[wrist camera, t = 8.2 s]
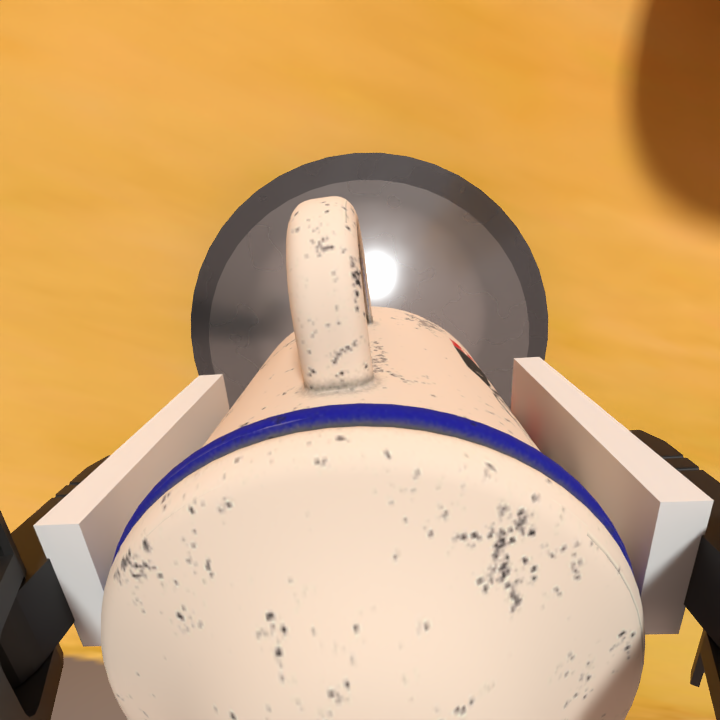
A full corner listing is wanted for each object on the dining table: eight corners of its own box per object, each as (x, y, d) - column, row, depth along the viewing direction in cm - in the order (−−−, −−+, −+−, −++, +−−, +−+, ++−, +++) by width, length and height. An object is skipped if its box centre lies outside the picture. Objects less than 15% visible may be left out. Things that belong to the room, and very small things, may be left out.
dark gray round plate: (239, 474, 24) (222, 509, 21) (181, 175, 18) (146, 167, 15) (517, 461, 23) (538, 496, 20) (539, 147, 18) (571, 133, 15)
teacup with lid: (495, 506, 16) (755, 1108, 5) (275, 525, 17) (94, 1098, 6) (487, 186, 12) (1435, -91, 1) (201, 225, 13) (-740, 260, 2)
